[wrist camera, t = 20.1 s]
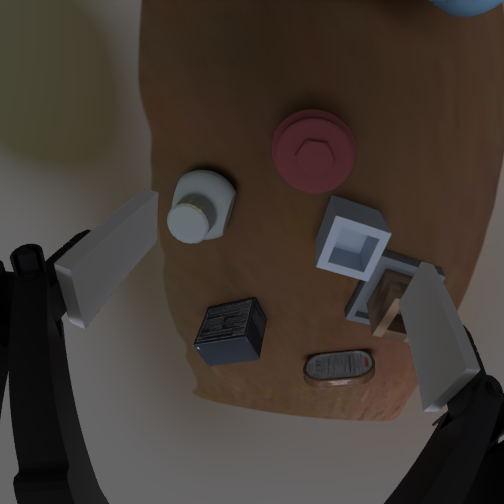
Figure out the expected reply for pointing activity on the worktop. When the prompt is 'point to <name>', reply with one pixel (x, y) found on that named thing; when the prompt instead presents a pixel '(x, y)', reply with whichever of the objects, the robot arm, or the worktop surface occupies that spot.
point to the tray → (364, 289)
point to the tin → (339, 369)
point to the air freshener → (201, 206)
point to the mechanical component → (313, 150)
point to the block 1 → (351, 239)
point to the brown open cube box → (388, 306)
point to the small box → (231, 333)
